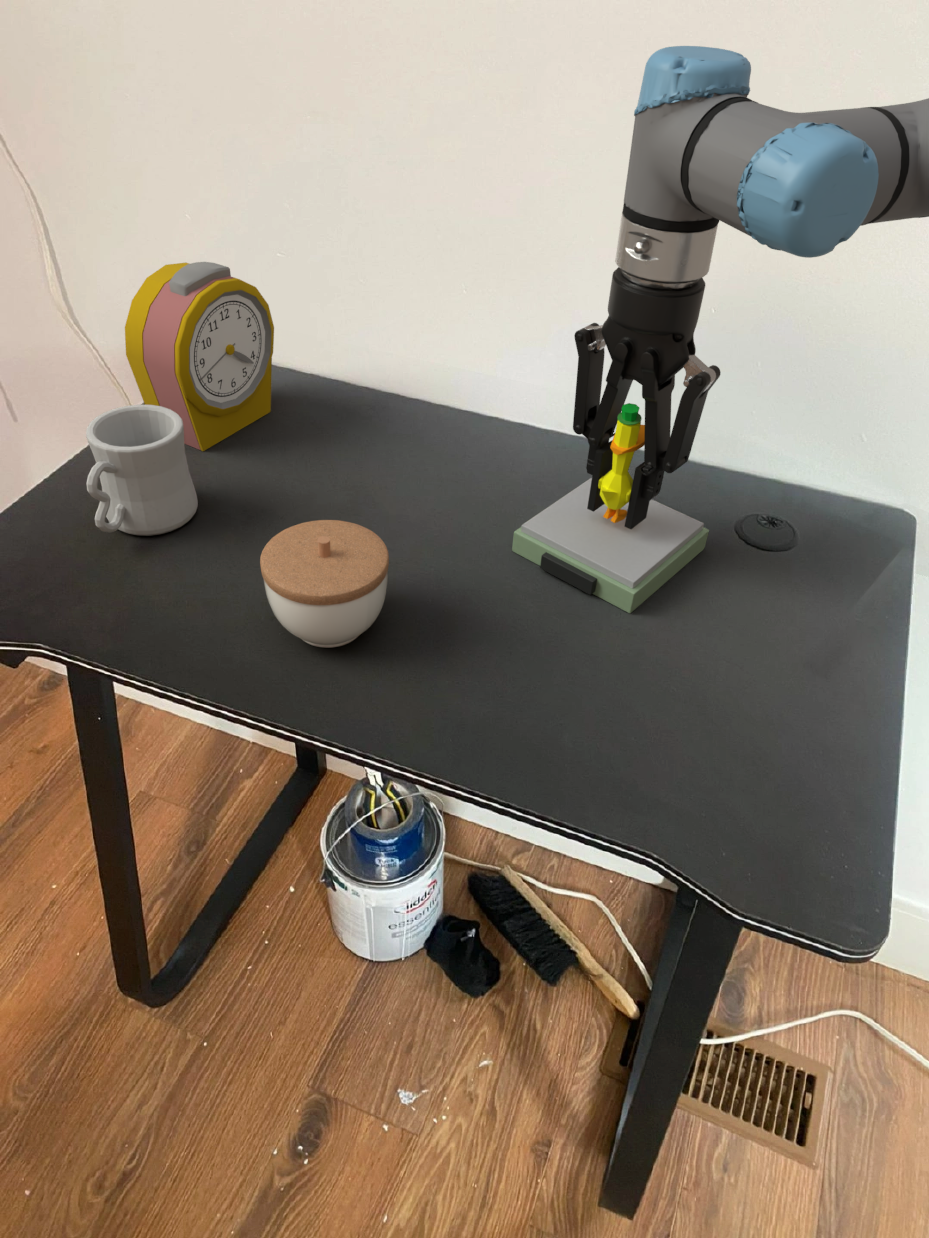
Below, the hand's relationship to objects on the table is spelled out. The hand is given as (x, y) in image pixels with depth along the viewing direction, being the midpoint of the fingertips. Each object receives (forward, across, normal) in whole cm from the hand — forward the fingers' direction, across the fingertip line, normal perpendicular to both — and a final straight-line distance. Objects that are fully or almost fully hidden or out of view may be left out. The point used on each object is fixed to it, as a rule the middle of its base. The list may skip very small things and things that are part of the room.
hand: (616, 512), depth 89 cm
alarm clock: (+5, -48, -11) cm, 50 cm away
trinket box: (+5, -12, -27) cm, 30 cm away
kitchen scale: (+5, 0, 0) cm, 5 cm away
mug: (+5, -37, -29) cm, 47 cm away
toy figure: (+1, 0, 0) cm, 1 cm away
